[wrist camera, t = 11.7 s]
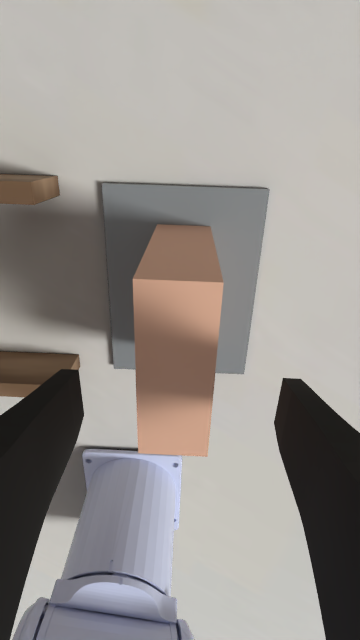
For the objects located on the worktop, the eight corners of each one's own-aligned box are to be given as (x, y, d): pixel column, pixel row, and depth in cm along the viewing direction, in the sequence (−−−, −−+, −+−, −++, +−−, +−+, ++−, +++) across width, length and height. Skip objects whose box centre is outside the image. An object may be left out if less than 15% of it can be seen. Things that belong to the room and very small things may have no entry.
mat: (243, 370, 24) (243, 374, 24) (115, 365, 24) (113, 368, 24) (268, 188, 19) (269, 189, 18) (103, 182, 19) (101, 183, 19)
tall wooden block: (202, 348, 23) (207, 456, 15) (157, 346, 23) (138, 453, 15) (210, 226, 19) (223, 282, 11) (157, 224, 19) (132, 278, 11)
